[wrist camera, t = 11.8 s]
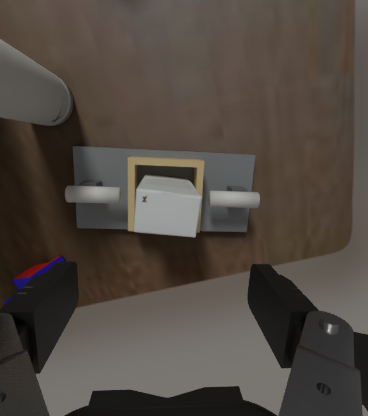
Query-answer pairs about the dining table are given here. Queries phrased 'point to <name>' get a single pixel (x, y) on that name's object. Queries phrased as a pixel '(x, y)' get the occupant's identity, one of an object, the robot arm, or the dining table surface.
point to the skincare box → (167, 206)
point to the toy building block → (33, 273)
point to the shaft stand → (165, 166)
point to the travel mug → (31, 90)
